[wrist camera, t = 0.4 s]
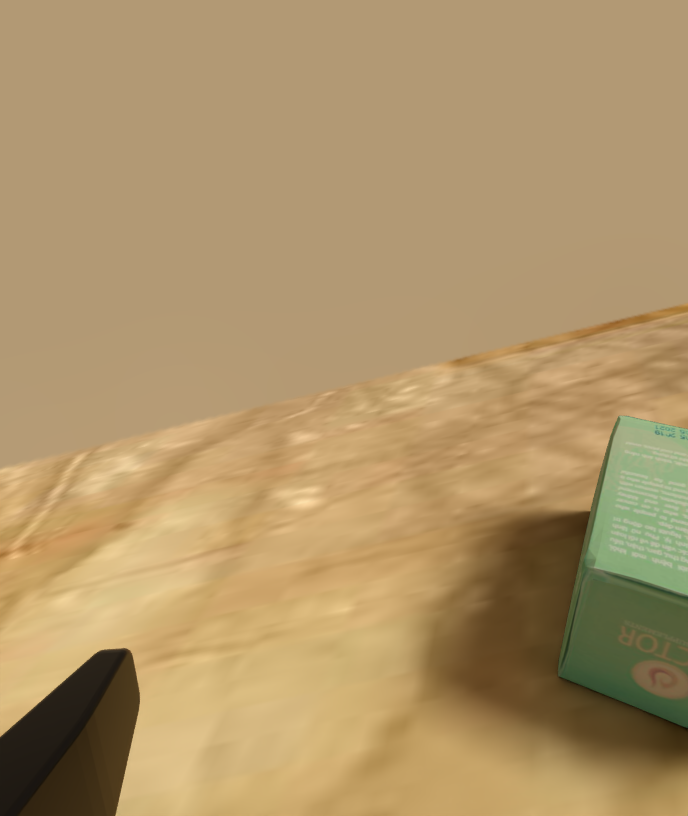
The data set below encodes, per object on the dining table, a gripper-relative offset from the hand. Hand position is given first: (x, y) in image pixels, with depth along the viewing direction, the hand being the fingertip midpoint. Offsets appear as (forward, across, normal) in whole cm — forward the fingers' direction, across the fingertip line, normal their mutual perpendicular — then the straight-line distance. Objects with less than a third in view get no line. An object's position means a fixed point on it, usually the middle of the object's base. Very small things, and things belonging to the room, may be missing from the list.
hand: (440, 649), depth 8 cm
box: (+15, -15, +13) cm, 25 cm away
